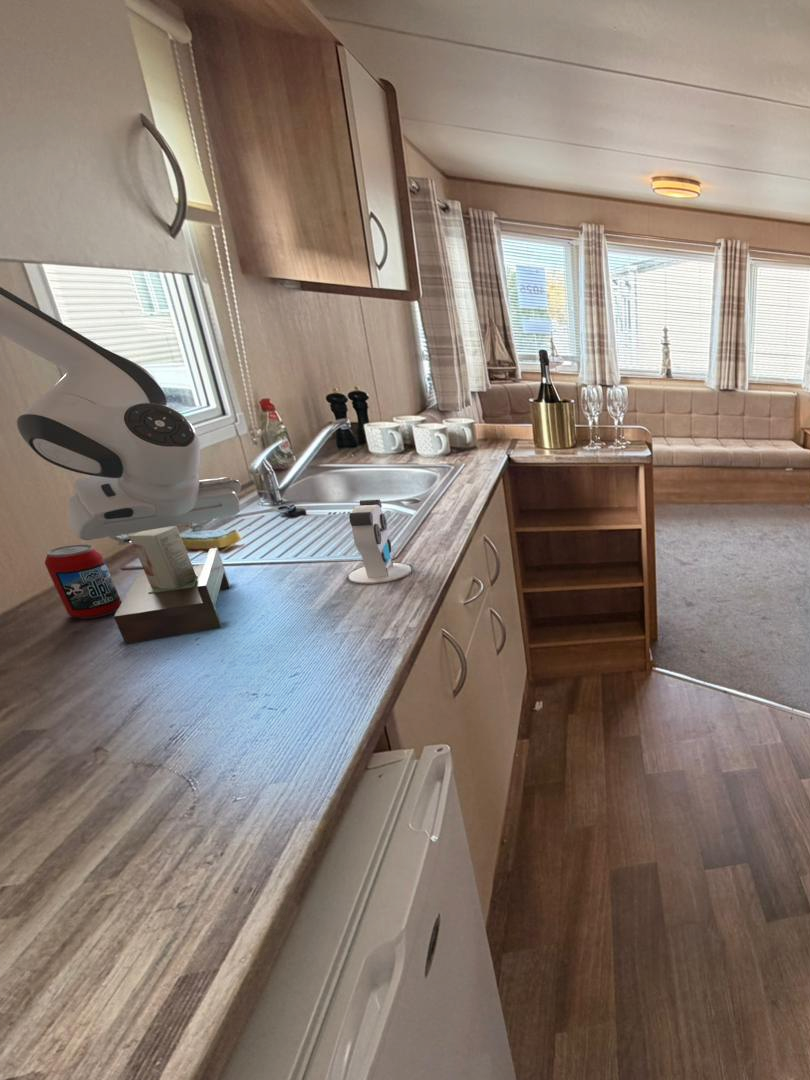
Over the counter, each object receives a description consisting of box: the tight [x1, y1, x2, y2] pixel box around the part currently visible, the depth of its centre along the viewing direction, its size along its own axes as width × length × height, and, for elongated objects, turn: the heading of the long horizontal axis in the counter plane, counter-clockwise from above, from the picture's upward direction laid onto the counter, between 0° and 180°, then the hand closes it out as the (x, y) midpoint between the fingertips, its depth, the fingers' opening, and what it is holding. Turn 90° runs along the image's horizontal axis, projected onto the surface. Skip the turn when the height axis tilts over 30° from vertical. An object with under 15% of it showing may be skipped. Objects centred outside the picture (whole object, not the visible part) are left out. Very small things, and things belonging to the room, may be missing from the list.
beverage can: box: [44, 544, 122, 619], centre depth 111 cm, size 7×7×12 cm
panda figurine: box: [348, 499, 412, 585], centre depth 132 cm, size 12×11×15 cm
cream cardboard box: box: [128, 525, 197, 589], centre depth 112 cm, size 5×4×10 cm
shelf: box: [113, 547, 231, 645], centre depth 114 cm, size 12×22×8 cm, turn 36°
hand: (160, 534), depth 108 cm, fingers open, 8 cm apart
